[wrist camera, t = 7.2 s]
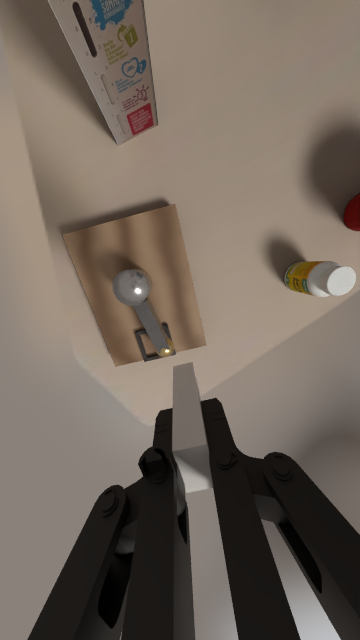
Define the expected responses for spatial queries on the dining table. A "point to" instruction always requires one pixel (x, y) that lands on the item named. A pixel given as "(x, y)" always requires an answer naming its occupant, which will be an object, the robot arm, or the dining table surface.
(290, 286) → the supplement bottle
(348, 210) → the plastic cup
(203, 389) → the dining table surface
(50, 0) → the juice carton
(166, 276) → the lever stand
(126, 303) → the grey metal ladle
